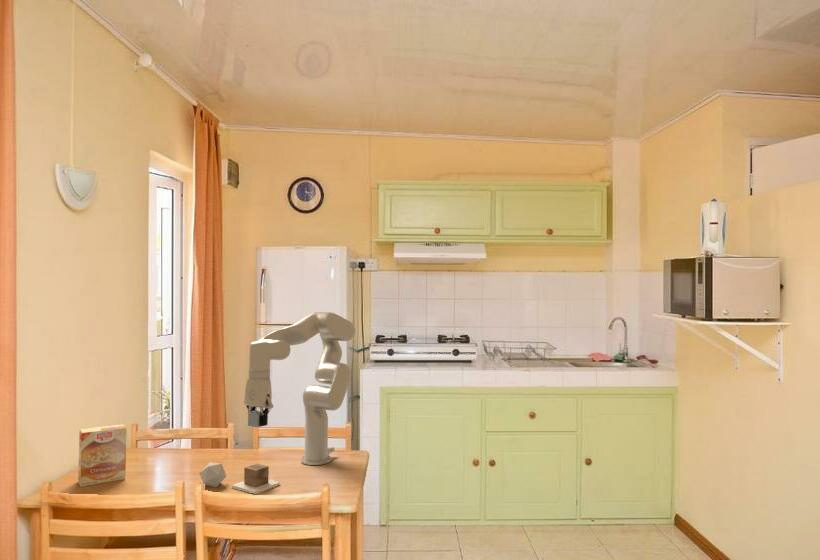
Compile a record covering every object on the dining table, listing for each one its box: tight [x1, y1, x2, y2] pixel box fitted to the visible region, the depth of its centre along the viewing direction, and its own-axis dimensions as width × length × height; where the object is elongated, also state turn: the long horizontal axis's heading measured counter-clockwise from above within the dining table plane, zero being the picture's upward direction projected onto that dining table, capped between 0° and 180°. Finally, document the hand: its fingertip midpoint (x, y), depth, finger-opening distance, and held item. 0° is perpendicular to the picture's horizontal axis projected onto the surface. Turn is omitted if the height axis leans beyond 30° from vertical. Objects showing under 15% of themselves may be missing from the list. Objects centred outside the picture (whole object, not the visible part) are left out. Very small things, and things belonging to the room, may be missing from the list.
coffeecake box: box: [77, 423, 127, 488], centre depth 209 cm, size 15×7×20 cm, turn 126°
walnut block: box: [243, 463, 270, 488], centre depth 204 cm, size 6×6×6 cm
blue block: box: [247, 409, 269, 428], centre depth 207 cm, size 5×5×5 cm
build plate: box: [231, 478, 281, 495], centre depth 204 cm, size 12×12×1 cm
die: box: [199, 461, 227, 488], centre depth 205 cm, size 8×9×10 cm
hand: (257, 423), depth 207 cm, fingers closed on blue block, 4 cm apart
